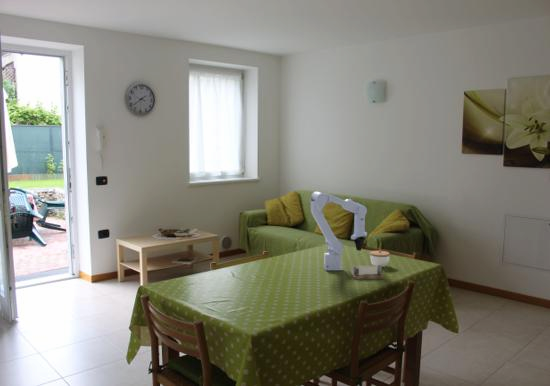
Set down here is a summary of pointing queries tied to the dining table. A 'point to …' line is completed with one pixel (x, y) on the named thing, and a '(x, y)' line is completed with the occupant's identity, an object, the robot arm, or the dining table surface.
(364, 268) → the white bar
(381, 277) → the board
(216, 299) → the dining table surface
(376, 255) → the lidded jar
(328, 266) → the robot arm
